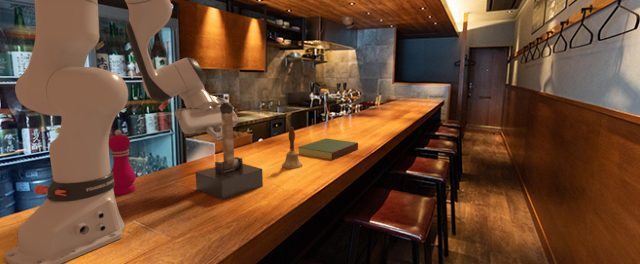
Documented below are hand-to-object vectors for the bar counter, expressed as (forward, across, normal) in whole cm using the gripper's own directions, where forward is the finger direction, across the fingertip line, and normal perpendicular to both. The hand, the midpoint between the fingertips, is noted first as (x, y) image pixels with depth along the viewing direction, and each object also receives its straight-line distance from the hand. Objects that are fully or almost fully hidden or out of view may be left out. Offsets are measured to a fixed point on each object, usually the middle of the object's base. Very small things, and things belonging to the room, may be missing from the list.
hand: (220, 138), depth 113 cm
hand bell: (+13, +32, +10) cm, 36 cm away
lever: (+10, 0, +4) cm, 11 cm away
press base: (+14, 0, +8) cm, 17 cm away
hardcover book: (+11, +62, +13) cm, 64 cm away
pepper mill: (-2, -23, +25) cm, 34 cm away
